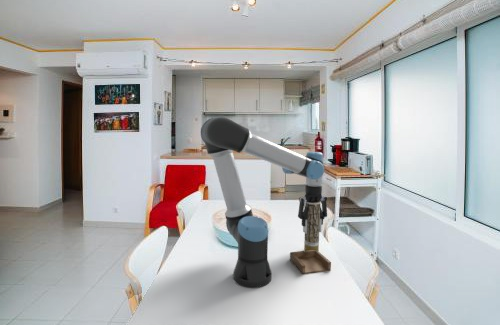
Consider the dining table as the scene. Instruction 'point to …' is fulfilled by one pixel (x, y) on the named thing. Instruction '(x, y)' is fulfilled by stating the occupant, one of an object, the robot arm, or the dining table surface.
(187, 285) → the dining table surface
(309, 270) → the wooden tray
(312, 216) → the paper tube
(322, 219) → the robot arm
